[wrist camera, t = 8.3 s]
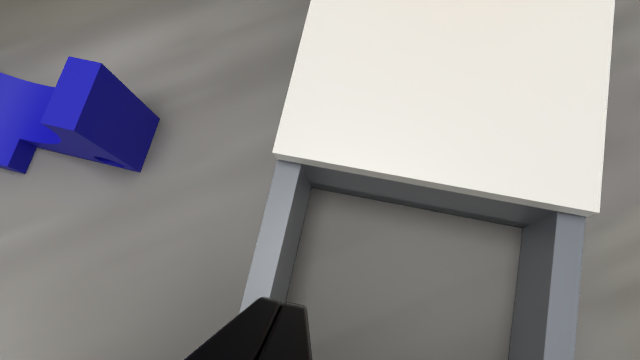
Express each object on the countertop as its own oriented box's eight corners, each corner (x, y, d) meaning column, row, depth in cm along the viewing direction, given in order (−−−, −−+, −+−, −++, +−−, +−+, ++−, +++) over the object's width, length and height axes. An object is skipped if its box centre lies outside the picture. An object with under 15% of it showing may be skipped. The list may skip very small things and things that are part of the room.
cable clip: (-69, 150, 26) (-194, 103, 20) (-34, 76, 27) (-142, 12, 21) (131, 201, 24) (59, 166, 18) (161, 120, 25) (101, 63, 19)
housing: (526, 419, 20) (566, 446, 16) (251, 352, 21) (226, 361, 17) (571, -26, 25) (609, -87, 21) (348, -53, 27) (346, -114, 23)
